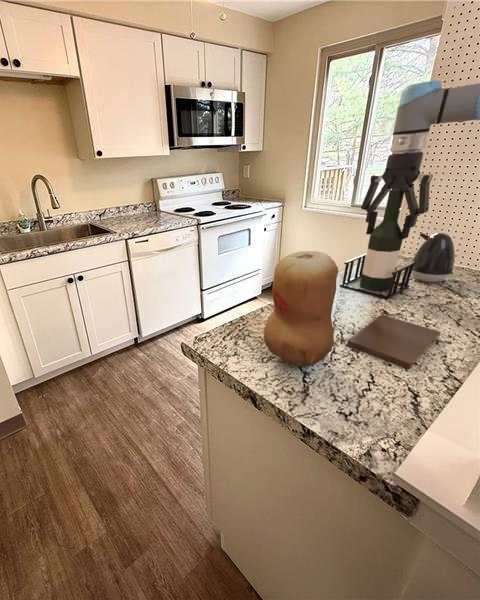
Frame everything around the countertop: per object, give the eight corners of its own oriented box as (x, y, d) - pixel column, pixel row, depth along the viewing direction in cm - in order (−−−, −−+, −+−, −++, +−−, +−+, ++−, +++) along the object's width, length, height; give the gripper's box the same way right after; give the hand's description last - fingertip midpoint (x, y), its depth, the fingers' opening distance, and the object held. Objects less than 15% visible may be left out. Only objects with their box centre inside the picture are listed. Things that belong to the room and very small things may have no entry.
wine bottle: (382, 280, 102) (405, 184, 89) (396, 290, 94) (424, 187, 82) (354, 281, 103) (373, 187, 91) (366, 291, 96) (388, 190, 84)
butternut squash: (251, 348, 75) (258, 249, 65) (300, 338, 77) (315, 240, 67) (286, 385, 63) (302, 270, 52) (344, 371, 65) (370, 258, 54)
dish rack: (361, 275, 108) (366, 252, 104) (409, 287, 97) (417, 261, 93) (338, 286, 102) (343, 262, 98) (387, 299, 91) (394, 273, 87)
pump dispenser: (417, 271, 107) (430, 227, 100) (455, 280, 98) (472, 232, 91) (399, 278, 103) (411, 233, 97) (437, 288, 94) (453, 239, 88)
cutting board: (380, 319, 82) (381, 314, 81) (439, 337, 72) (441, 331, 72) (346, 345, 73) (347, 340, 72) (408, 369, 64) (410, 363, 63)
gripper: (356, 155, 89) (342, 233, 99) (451, 150, 73) (424, 244, 82) (370, 153, 93) (355, 228, 102) (464, 147, 76) (436, 238, 85)
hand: (386, 235), depth 92 cm, fingers closed on wine bottle, 8 cm apart
